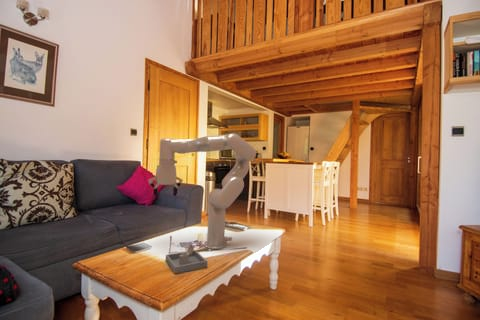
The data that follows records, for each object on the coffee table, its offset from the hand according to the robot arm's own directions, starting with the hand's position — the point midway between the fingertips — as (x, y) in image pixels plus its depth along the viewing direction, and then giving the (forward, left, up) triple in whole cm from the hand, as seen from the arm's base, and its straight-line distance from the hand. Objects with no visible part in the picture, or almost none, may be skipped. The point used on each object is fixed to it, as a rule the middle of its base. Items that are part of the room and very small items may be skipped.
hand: (165, 195), depth 129 cm
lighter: (-5, +21, -28) cm, 35 cm away
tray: (-5, +21, -28) cm, 36 cm away
